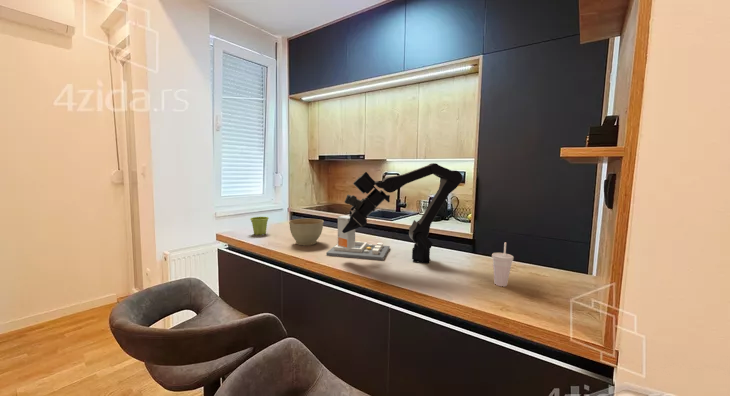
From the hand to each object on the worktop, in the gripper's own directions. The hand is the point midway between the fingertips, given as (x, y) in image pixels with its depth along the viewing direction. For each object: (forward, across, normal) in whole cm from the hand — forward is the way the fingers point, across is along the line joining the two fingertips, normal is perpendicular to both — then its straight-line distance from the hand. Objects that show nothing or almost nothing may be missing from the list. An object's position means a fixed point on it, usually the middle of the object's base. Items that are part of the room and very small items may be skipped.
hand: (342, 230), depth 116 cm
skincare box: (+4, 0, +6) cm, 7 cm away
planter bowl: (+21, -28, -4) cm, 35 cm away
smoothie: (-27, +25, +45) cm, 58 cm away
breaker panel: (+4, -13, +14) cm, 19 cm away
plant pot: (+40, -48, -23) cm, 67 cm away
